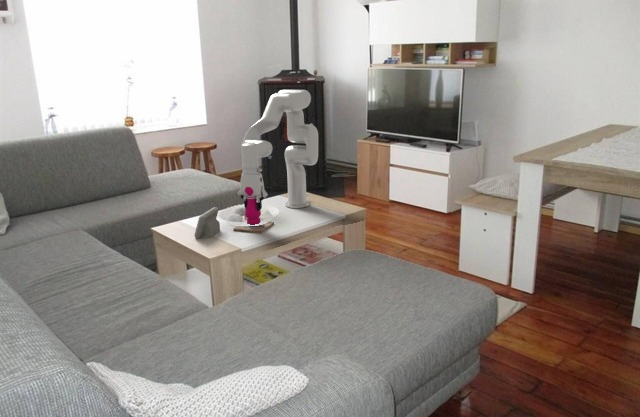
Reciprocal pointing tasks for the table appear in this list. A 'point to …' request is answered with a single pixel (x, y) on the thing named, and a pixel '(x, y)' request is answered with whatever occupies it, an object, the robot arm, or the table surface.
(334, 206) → the table surface
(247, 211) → the pepper mill
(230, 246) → the table surface
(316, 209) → the table surface
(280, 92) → the robot arm
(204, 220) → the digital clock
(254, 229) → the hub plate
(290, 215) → the table surface
